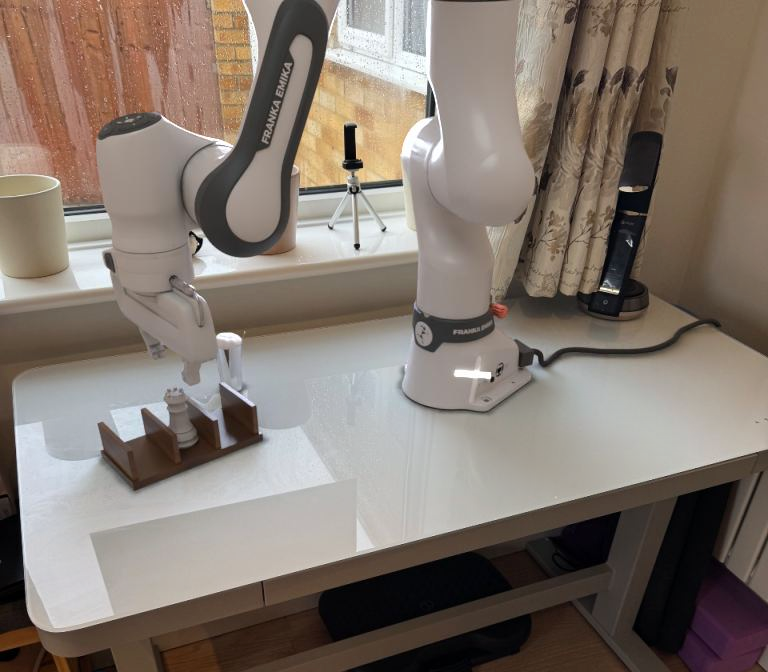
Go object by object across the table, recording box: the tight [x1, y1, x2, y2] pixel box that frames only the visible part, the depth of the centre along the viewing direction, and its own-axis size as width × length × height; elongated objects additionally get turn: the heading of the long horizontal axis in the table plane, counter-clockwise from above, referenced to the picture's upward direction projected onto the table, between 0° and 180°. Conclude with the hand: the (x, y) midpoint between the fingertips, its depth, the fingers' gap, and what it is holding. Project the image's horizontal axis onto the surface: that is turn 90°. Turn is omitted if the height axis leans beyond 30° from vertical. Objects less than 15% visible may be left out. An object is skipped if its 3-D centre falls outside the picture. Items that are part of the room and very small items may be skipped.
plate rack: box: [96, 381, 264, 491], centre depth 104 cm, size 20×10×6 cm, turn 131°
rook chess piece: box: [162, 386, 198, 449], centre depth 103 cm, size 4×4×8 cm
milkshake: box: [215, 332, 246, 393], centre depth 117 cm, size 4×5×10 cm
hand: (174, 369), depth 99 cm, fingers open, 8 cm apart
